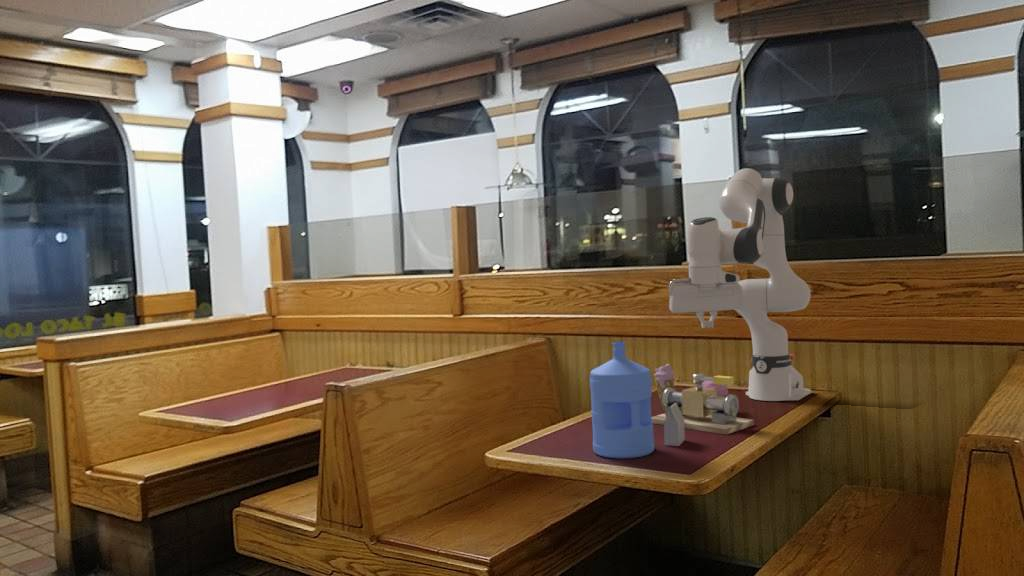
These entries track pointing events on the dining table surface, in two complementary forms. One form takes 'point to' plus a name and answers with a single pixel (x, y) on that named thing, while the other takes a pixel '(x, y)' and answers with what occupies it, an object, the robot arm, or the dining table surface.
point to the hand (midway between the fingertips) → (707, 327)
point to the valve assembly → (704, 410)
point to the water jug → (621, 407)
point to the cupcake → (721, 389)
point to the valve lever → (714, 379)
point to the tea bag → (674, 427)
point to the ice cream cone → (664, 380)
